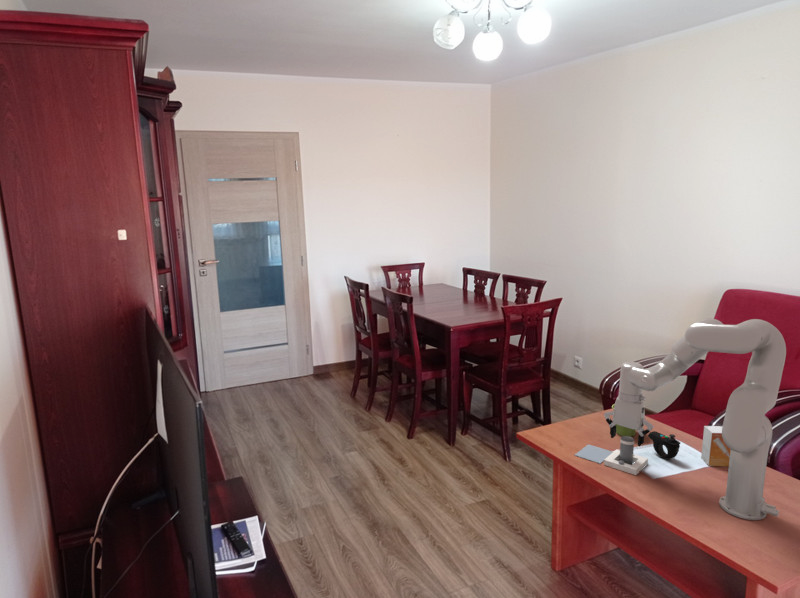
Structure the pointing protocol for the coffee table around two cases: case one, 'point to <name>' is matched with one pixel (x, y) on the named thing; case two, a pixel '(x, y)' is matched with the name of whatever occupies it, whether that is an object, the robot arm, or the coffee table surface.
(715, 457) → the small box
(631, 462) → the cartridge
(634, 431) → the plant pot
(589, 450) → the mat
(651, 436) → the controller
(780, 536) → the coffee table surface
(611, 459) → the frame
